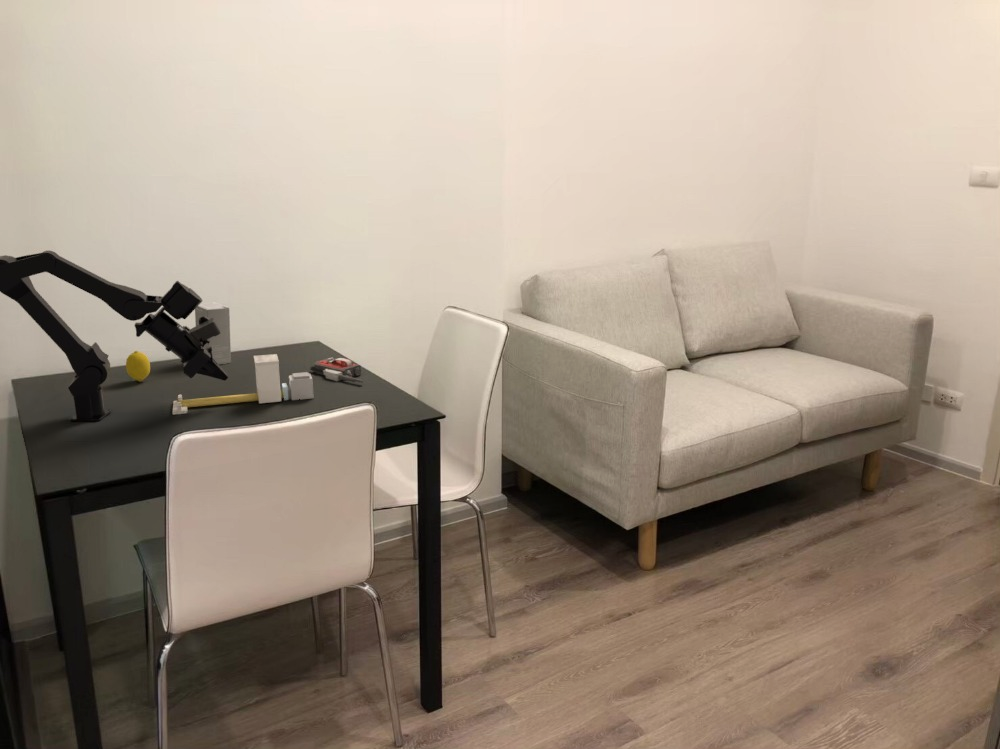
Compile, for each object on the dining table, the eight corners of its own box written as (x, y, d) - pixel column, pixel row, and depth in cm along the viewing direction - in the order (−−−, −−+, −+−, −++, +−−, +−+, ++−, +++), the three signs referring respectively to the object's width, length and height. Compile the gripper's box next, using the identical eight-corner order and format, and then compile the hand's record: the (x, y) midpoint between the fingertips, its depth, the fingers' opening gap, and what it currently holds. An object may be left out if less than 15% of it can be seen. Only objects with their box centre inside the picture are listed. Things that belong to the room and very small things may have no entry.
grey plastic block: (284, 401, 194) (282, 378, 193) (282, 395, 198) (280, 373, 197) (313, 398, 196) (312, 376, 195) (311, 392, 200) (310, 371, 199)
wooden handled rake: (172, 414, 185) (171, 406, 184) (173, 403, 192) (173, 395, 192) (292, 402, 193) (292, 394, 192) (289, 392, 201) (288, 384, 200)
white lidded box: (258, 403, 191) (255, 362, 189) (256, 395, 197) (253, 355, 195) (281, 401, 193) (278, 360, 190) (279, 393, 199) (276, 354, 196)
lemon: (156, 378, 212) (152, 348, 209) (145, 385, 206) (141, 354, 204) (135, 378, 212) (131, 347, 210) (123, 384, 207) (119, 353, 205)
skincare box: (196, 361, 228) (190, 304, 224) (221, 356, 233) (215, 300, 229) (209, 367, 222) (204, 308, 218) (235, 362, 227) (229, 305, 223)
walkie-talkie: (303, 375, 216) (359, 388, 205) (302, 358, 215) (358, 370, 204) (328, 367, 223) (384, 380, 212) (327, 351, 222) (383, 363, 211)
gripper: (195, 316, 176) (253, 363, 182) (196, 300, 193) (249, 343, 199) (159, 354, 176) (218, 400, 182) (163, 335, 193) (216, 377, 199)
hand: (226, 378), depth 191 cm, fingers closed
